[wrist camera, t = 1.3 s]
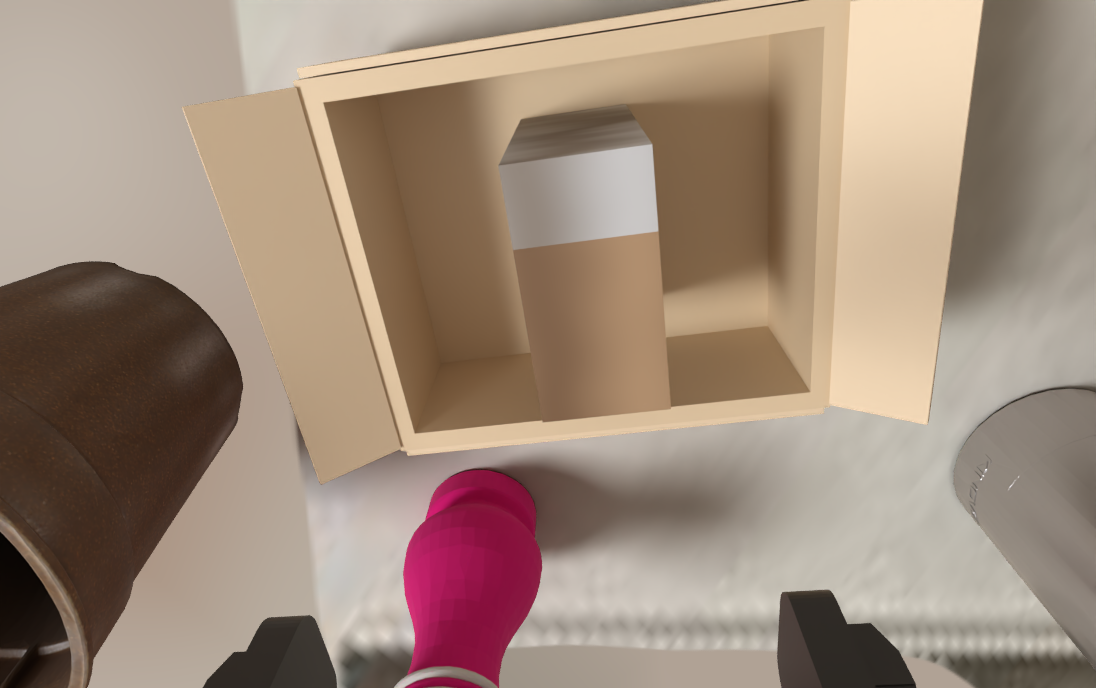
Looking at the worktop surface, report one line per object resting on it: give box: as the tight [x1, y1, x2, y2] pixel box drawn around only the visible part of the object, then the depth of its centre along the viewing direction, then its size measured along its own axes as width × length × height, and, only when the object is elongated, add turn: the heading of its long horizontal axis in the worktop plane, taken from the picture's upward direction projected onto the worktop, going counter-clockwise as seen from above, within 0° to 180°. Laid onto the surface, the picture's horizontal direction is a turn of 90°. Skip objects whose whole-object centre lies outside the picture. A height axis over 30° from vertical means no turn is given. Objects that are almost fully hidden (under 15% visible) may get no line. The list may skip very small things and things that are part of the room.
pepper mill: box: [394, 470, 542, 688], centre depth 30 cm, size 7×7×20 cm
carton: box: [182, 0, 984, 485], centre depth 26 cm, size 24×16×9 cm, turn 98°
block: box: [498, 104, 671, 422], centre depth 26 cm, size 4×9×10 cm, turn 8°
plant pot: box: [0, 262, 243, 688], centre depth 28 cm, size 16×16×16 cm
